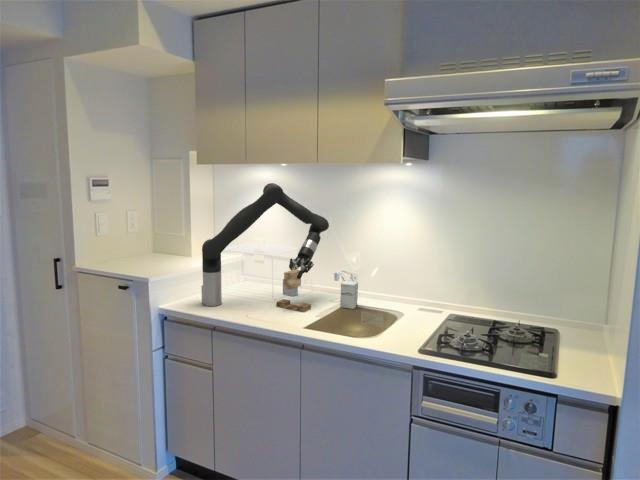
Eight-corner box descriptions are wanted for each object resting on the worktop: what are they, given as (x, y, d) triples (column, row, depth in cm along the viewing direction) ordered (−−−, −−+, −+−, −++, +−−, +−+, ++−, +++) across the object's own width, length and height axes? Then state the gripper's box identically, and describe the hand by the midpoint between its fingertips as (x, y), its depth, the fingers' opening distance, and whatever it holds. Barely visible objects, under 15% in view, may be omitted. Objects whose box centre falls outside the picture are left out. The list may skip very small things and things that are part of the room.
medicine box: (298, 295, 258) (298, 279, 257) (292, 296, 255) (292, 281, 253) (288, 292, 263) (288, 277, 262) (282, 294, 260) (282, 278, 258)
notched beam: (276, 306, 236) (276, 301, 235) (283, 303, 241) (283, 299, 240) (304, 312, 227) (304, 307, 226) (310, 309, 232) (310, 304, 231)
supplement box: (339, 307, 235) (340, 283, 234) (344, 303, 242) (344, 280, 240) (353, 309, 233) (354, 284, 231) (357, 305, 240) (358, 281, 238)
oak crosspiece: (284, 288, 229) (284, 272, 227) (294, 284, 236) (294, 269, 235) (290, 289, 227) (290, 273, 225) (300, 285, 234) (301, 270, 233)
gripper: (293, 244, 241) (279, 271, 233) (316, 247, 234) (303, 275, 226) (299, 253, 247) (285, 279, 238) (322, 256, 239) (309, 283, 231)
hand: (294, 277), depth 232 cm, fingers closed on oak crosspiece, 4 cm apart
